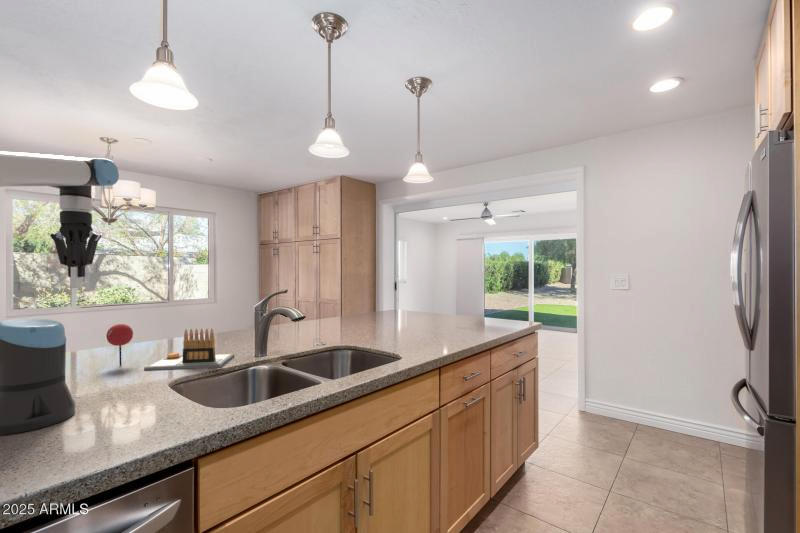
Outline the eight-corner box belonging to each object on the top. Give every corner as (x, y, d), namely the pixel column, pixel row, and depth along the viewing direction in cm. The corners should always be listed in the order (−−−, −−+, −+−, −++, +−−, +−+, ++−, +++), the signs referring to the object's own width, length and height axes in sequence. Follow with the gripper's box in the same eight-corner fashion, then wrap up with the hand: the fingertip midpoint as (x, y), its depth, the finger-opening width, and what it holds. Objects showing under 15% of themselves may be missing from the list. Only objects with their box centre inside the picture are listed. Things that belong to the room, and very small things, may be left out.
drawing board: (220, 367, 132) (220, 363, 132) (144, 370, 129) (144, 366, 129) (234, 356, 148) (234, 353, 148) (166, 358, 144) (166, 355, 144)
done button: (176, 358, 140) (176, 355, 140) (165, 358, 139) (165, 355, 139) (181, 355, 144) (181, 352, 144) (170, 356, 143) (170, 352, 143)
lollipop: (110, 364, 137) (109, 323, 137) (135, 361, 140) (135, 322, 140) (103, 369, 130) (103, 326, 130) (130, 366, 133) (130, 325, 133)
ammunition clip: (215, 360, 136) (215, 328, 136) (213, 361, 135) (213, 328, 135) (184, 361, 135) (184, 328, 135) (182, 363, 133) (182, 329, 133)
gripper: (107, 213, 119) (107, 287, 119) (61, 213, 118) (62, 287, 118) (91, 210, 112) (91, 288, 112) (42, 209, 110) (43, 289, 110)
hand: (76, 287), depth 115 cm, fingers closed
